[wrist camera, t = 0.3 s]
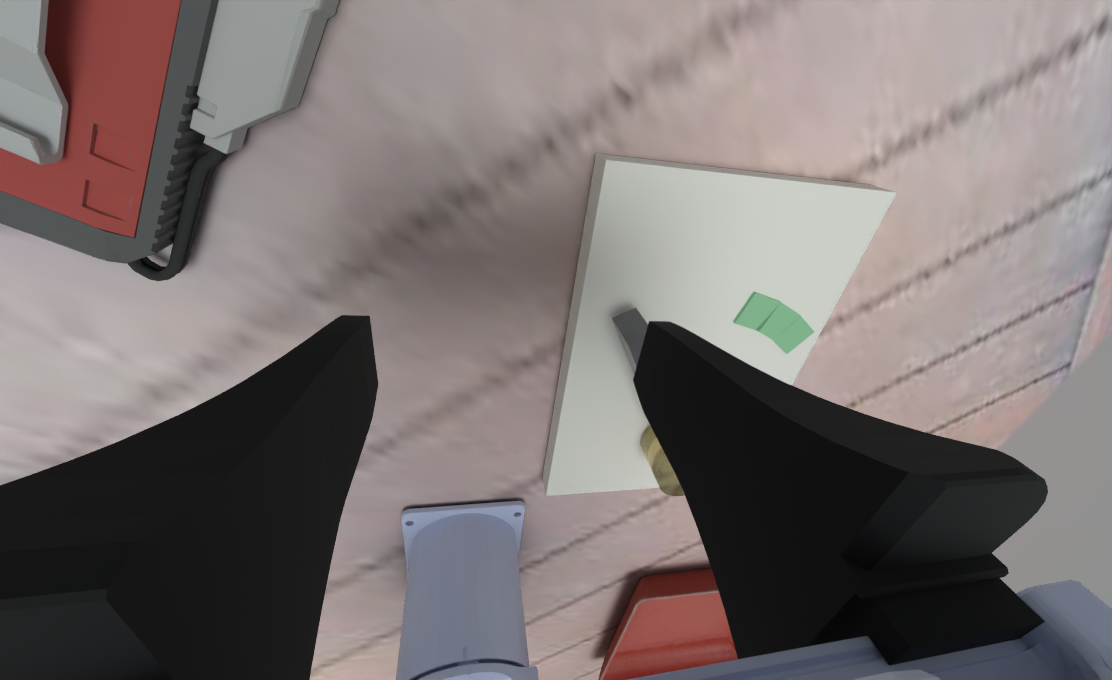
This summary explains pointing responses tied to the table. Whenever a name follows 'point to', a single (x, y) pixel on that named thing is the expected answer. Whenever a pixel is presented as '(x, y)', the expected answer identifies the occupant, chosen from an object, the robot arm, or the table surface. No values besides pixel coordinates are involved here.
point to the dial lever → (632, 340)
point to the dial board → (694, 291)
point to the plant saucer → (670, 627)
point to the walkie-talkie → (138, 112)
